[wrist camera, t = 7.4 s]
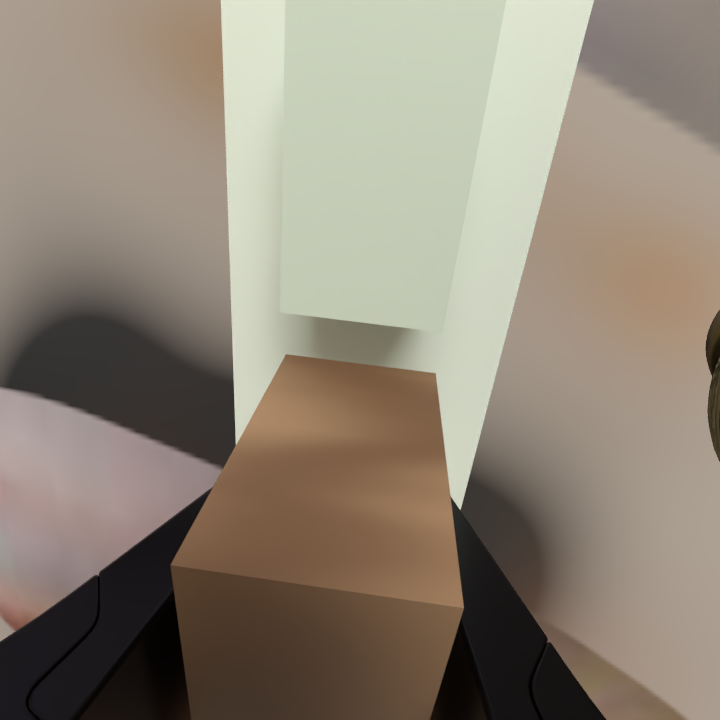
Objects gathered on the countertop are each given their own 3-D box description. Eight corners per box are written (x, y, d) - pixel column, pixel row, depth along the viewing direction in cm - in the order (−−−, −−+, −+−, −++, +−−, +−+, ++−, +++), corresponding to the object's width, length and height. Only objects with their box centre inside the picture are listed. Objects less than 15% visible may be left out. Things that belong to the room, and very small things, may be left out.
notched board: (584, 1, 9) (685, -74, 6) (431, 603, 17) (437, 713, 14) (230, -33, 9) (135, -123, 6) (245, 576, 17) (209, 678, 14)
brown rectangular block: (435, 373, 9) (463, 607, 5) (404, 535, 11) (403, 809, 7) (286, 354, 9) (170, 565, 5) (282, 518, 11) (199, 775, 7)
